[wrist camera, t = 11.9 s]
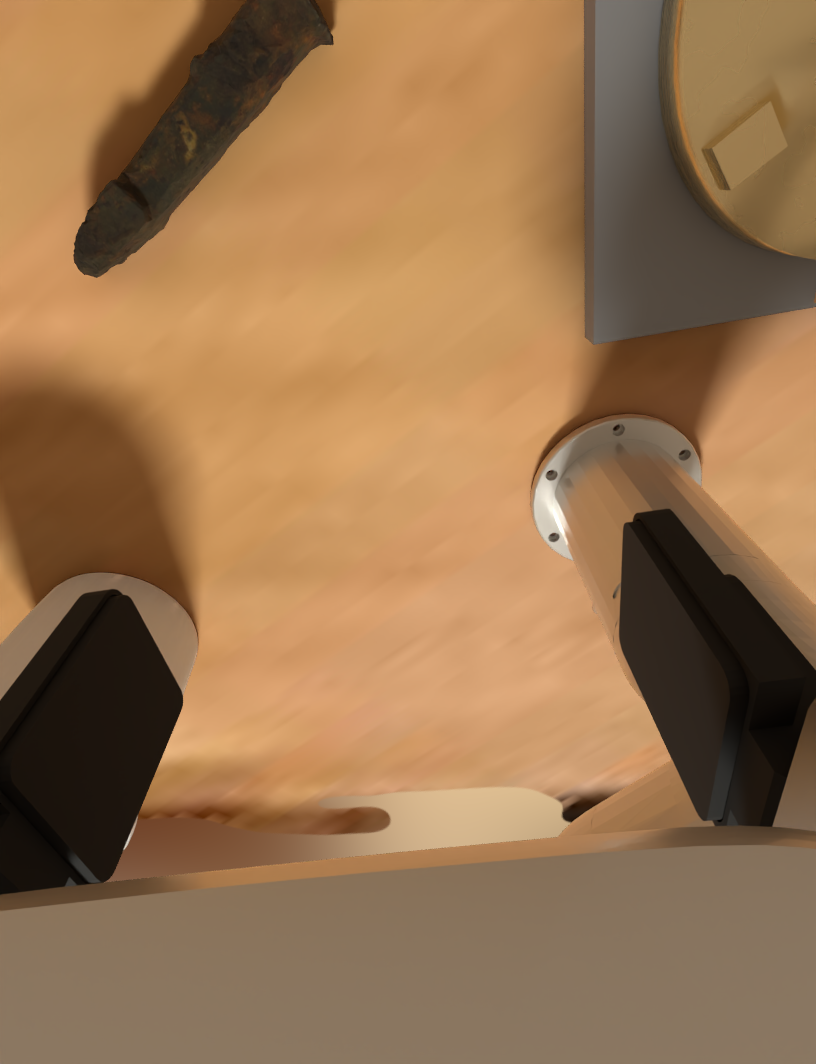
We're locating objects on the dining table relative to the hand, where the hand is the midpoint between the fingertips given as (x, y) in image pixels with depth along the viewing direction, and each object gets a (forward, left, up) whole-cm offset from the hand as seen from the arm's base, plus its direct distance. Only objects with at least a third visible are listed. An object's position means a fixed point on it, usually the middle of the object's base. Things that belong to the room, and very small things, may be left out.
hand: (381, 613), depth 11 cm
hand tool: (+10, +9, -31) cm, 34 cm away
